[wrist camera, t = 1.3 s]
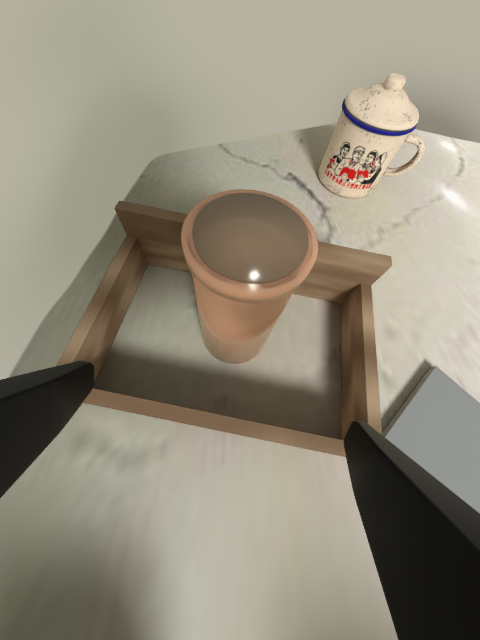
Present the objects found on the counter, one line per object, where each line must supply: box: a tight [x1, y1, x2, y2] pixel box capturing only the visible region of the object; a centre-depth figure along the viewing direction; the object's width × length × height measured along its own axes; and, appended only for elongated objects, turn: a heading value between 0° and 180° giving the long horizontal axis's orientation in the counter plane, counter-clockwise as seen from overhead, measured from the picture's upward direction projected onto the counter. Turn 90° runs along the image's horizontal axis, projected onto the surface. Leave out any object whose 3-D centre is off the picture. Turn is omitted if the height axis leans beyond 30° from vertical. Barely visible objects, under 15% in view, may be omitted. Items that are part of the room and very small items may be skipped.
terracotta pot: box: [181, 190, 318, 364], centre depth 18 cm, size 7×7×13 cm
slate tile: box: [382, 366, 480, 513], centre depth 20 cm, size 11×11×1 cm
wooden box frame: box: [56, 201, 392, 457], centre depth 20 cm, size 16×24×7 cm, turn 79°
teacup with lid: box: [318, 73, 425, 198], centre depth 30 cm, size 12×9×12 cm
